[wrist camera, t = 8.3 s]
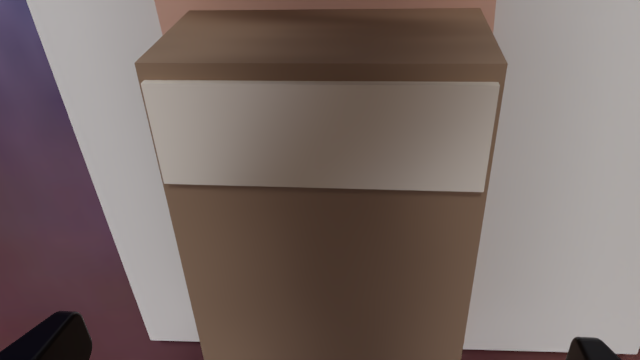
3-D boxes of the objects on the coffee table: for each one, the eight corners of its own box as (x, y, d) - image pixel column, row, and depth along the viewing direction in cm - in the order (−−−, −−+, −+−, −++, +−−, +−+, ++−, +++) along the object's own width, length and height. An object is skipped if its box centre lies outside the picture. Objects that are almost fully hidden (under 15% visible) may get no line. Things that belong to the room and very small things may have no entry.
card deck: (239, 311, 16) (211, 403, 14) (189, 10, 12) (130, 66, 9) (442, 321, 16) (453, 420, 13) (479, 7, 11) (509, 67, 8)
